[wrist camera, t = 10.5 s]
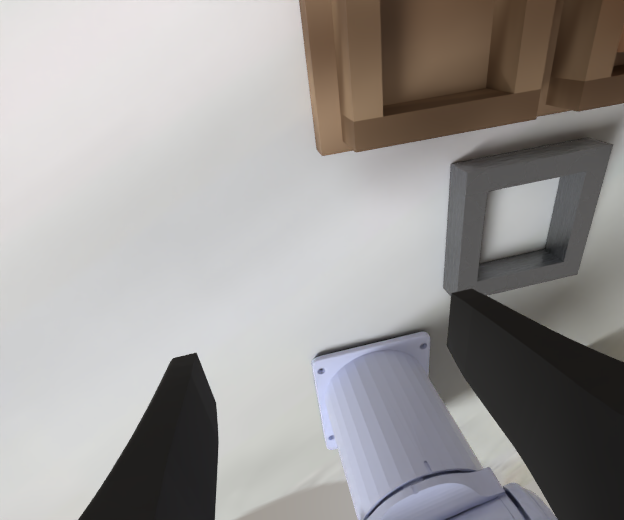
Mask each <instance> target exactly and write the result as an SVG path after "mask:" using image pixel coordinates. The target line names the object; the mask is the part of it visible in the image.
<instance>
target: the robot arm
mask: <svg viewBox="0 0 624 520" xmlns="http://www.w3.org/2000/svg"><path fill="white" fill-rule="evenodd" d="M423 343H424V344H423ZM421 344H423V345H421ZM447 347H448V349H449V351H450V352H451V354H452V356H453V358H454V360H455V362H456V364H457V366H458V367H459V369H460V371H461V373H462V374H463V376H464V378H465V379H466V381H467V382H468V384H469V385H470V386H471V388H472V389H473V391H474V392H475V393H476V395H477V396H478V398H479V399H480V400H481V402H482V403H483V405H484V406H485V407H486V409H487V410H488V411H489V413H490V414H491V416H492V417H493V418H494V420H495V421H496V422H497V424H498V425H499V427H500V428H501V429H502V431H503V432H504V433H505V435H506V436H507V438H508V439H509V440H510V442H511V443H512V444H513V446H514V447H515V449H516V450H517V452H518V453H519V455H520V456H521V458H522V459H523V461H524V462H525V464H526V466H527V467H528V469H529V471H530V472H531V474H532V476H533V478H534V479H535V481H536V483H537V484H538V486H539V487H540V489H541V491H542V493H543V494H544V496H545V498H546V500H547V501H548V503H549V505H550V507H551V508H552V510H553V512H554V514H555V515H554V514H553V513H552V512H551V510H550V509H549V508H548V507H547V505H546V504H545V503H544V502H543V501H542V500H541V499H540V498H539V497H538V496H537V495H536V494H535V493H534V492H532V491H530V490H527V489H525V488H523V487H521V486H520V485H519V484H517V483H509V484H507V485H505V486H503V487H502V486H501V484H500V483H499V481H498V480H497V478H496V476H495V475H494V473H493V471H492V470H491V468H489V467H487V468H483V467H482V465H481V463H480V462H479V460H478V458H477V457H476V455H475V453H474V452H473V450H472V449H471V447H470V445H469V444H468V442H467V440H466V439H465V437H464V435H463V434H462V432H461V430H460V429H459V427H458V425H457V424H456V422H455V420H454V419H453V417H452V416H451V414H450V412H449V411H448V409H447V407H446V406H445V404H444V402H443V401H442V399H441V397H440V396H439V394H438V392H437V391H436V389H435V387H434V386H433V384H432V383H431V381H430V379H429V358H430V336H429V334H428V333H427V332H418V333H414V334H410V335H405V336H401V337H397V338H393V339H389V340H385V341H380V342H376V343H372V344H368V345H364V346H360V347H355V348H351V349H347V350H343V351H339V352H335V353H330V354H326V355H322V356H318V357H316V358H314V359H313V361H312V368H313V373H314V379H315V385H316V391H317V396H318V402H319V408H320V414H321V420H322V425H323V431H324V437H325V443H326V447H327V448H328V449H330V450H333V449H337V448H338V451H339V454H340V458H341V461H342V465H343V468H344V472H345V475H346V479H347V483H348V486H349V490H350V493H351V497H352V500H353V504H354V507H355V511H356V514H357V518H358V520H624V362H621V361H619V360H616V359H614V358H611V357H609V356H607V355H604V354H602V353H600V352H597V351H595V350H593V349H591V348H589V347H586V346H584V345H582V344H580V343H578V342H575V341H573V340H571V339H569V338H567V337H565V336H563V335H561V334H559V333H557V332H555V331H552V330H550V329H549V328H547V327H545V326H543V325H541V324H539V323H537V322H535V321H533V320H531V319H529V318H527V317H525V316H523V315H521V314H520V313H518V312H516V311H514V310H512V309H510V308H508V307H506V306H505V305H503V304H501V303H499V302H497V301H495V300H493V299H491V298H490V297H488V296H486V295H484V294H482V293H480V292H478V291H476V290H474V289H472V288H471V289H467V290H462V291H458V292H454V293H451V304H450V316H449V327H448V338H447ZM321 368H323V369H321ZM319 369H321V370H319ZM217 463H218V423H217V409H216V402H215V399H214V397H213V394H212V391H211V389H210V386H209V384H208V381H207V379H206V376H205V373H204V371H203V368H202V366H201V363H200V361H199V358H198V355H197V353H193V354H189V355H185V356H180V357H176V358H173V359H172V361H171V362H170V364H169V366H168V368H167V370H166V372H165V374H164V376H163V378H162V380H161V382H160V384H159V386H158V388H157V390H156V392H155V394H154V396H153V398H152V400H151V402H150V404H149V406H148V408H147V410H146V412H145V413H144V415H143V417H142V419H141V421H140V423H139V424H138V426H137V428H136V430H135V432H134V433H133V435H132V437H131V439H130V440H129V442H128V444H127V445H126V447H125V449H124V450H123V452H122V454H121V455H120V457H119V459H118V460H117V462H116V464H115V465H114V467H113V469H112V470H111V472H110V473H109V475H108V477H107V478H106V480H105V481H104V483H103V484H102V486H101V487H100V489H99V490H98V492H97V493H96V495H95V496H94V498H93V499H92V501H91V502H90V504H89V505H88V506H87V508H86V509H85V511H84V512H83V514H82V515H81V516H80V518H79V519H78V520H215V503H216V483H217ZM555 516H556V517H557V518H556V517H555Z"/></svg>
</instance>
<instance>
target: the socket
mask: <svg viewBox="0 0 624 520" xmlns="http://www.w3.org/2000/svg"><path fill="white" fill-rule="evenodd" d="M612 147H613V144H609V143H606V142H602V141H599V140H595V139H591V138H583V139H578V140H573V141H568V142H562V143H557V144H552V145H547V146H542V147H536V148H531V149H526V150H521V151H516V152H510V153H505V154H500V155H495V156H490V157H484V158H479V159H474V160H469V161H464V162H458V163H453V164H451V172H450V188H449V204H448V220H447V236H446V252H445V268H444V284H443V288H444V289H445V290H446V292H447V293H448V294H449V295H450V296H451V293H454V292H458V291H462V290H467V289H471V288H472V289H474V290H476V291H478V292H480V293H482V294H484V295H486V296H487V295H491V294H495V293H500V292H504V291H508V290H512V289H517V288H521V287H525V286H530V285H534V284H538V283H542V282H547V281H551V280H555V279H559V278H564V277H568V276H572V275H577V274H578V270H579V266H580V263H581V259H582V255H583V252H584V248H585V245H586V241H587V237H588V234H589V230H590V226H591V223H592V219H593V215H594V212H595V208H596V205H597V201H598V197H599V194H600V190H601V186H602V183H603V179H604V176H605V172H606V168H607V165H608V161H609V157H610V154H611V150H612ZM557 177H560V182H559V186H558V191H557V196H556V200H555V205H554V210H553V214H552V219H551V223H550V228H549V233H548V237H547V242H546V247H545V250H540V251H536V252H531V253H527V254H522V255H518V256H513V257H509V258H504V259H500V260H496V261H491V262H487V263H482V264H479V259H480V251H481V242H482V234H483V225H484V217H485V208H486V199H487V192H488V191H492V190H497V189H502V188H507V187H512V186H517V185H522V184H527V183H532V182H537V181H542V180H547V179H552V178H557Z"/></svg>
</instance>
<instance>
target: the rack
mask: <svg viewBox="0 0 624 520" xmlns="http://www.w3.org/2000/svg"><path fill="white" fill-rule="evenodd" d="M299 3H300V12H301V20H302V29H303V37H304V46H305V54H306V63H307V71H308V80H309V88H310V97H311V105H312V114H313V122H314V131H315V139H316V148H317V150H318V152H319V153H320V154H321V155H322V156H325V155H331V154H336V153H342V152H347V151H352V150H354V151H355V152H361V151H366V150H372V149H377V148H382V147H388V146H393V145H399V144H404V143H410V142H415V141H420V140H426V139H431V138H437V137H442V136H448V135H453V134H458V133H464V132H469V131H475V130H480V129H486V128H491V127H497V126H502V125H507V124H513V123H518V122H524V121H529V120H535V119H536V117H538V116H543V115H549V114H554V113H560V112H565V111H571V110H574V111H583V110H589V109H594V108H600V107H605V106H611V105H616V104H622V103H624V52H617V49H618V45H619V41H620V37H621V33H622V29H623V25H624V0H299Z"/></svg>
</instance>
